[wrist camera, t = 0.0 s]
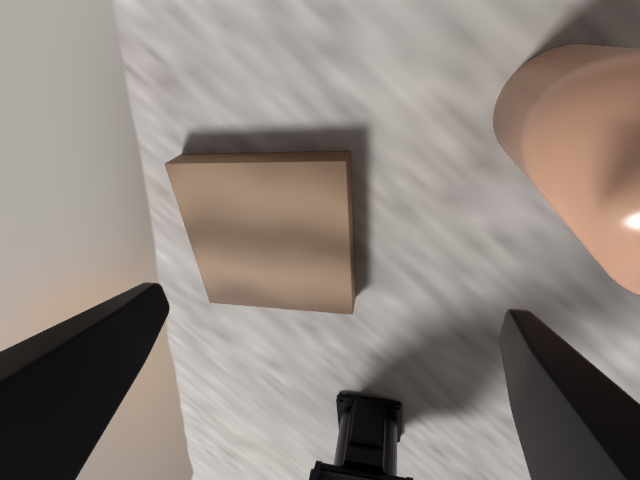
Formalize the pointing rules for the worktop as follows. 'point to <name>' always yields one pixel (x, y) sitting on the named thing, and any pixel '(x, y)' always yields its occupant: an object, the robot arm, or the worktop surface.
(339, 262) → the walnut stand
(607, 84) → the pink rounded glossy part
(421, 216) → the worktop surface
